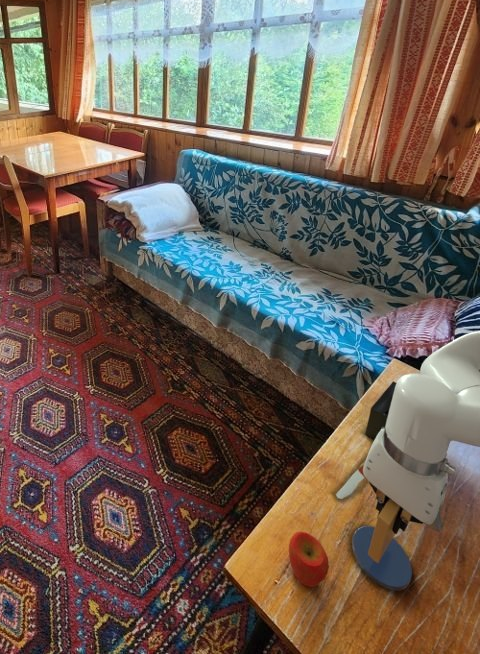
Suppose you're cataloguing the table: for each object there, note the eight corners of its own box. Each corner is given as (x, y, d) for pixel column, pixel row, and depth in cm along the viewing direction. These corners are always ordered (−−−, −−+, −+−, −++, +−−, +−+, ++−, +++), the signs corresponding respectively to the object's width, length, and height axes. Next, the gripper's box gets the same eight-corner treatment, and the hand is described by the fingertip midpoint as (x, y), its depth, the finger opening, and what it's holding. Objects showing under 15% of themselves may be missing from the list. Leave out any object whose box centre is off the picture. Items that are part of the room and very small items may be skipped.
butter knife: (407, 434, 89) (393, 424, 91) (346, 505, 76) (332, 492, 79) (406, 435, 89) (392, 426, 92) (345, 507, 76) (331, 493, 79)
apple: (330, 575, 66) (336, 550, 64) (314, 606, 63) (319, 581, 60) (296, 543, 71) (300, 519, 68) (279, 570, 67) (283, 545, 65)
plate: (402, 540, 70) (403, 536, 70) (418, 601, 62) (419, 597, 62) (348, 522, 74) (349, 518, 73) (356, 577, 66) (357, 573, 65)
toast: (390, 516, 69) (401, 478, 66) (400, 524, 68) (412, 486, 64) (367, 554, 64) (378, 516, 61) (377, 563, 63) (389, 525, 59)
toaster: (386, 407, 96) (393, 381, 93) (423, 429, 90) (431, 402, 87) (363, 437, 90) (369, 409, 86) (401, 463, 83) (409, 435, 80)
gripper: (485, 473, 54) (454, 549, 60) (368, 401, 66) (352, 470, 72) (469, 508, 50) (438, 585, 56) (347, 424, 62) (333, 496, 68)
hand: (390, 520), depth 64 cm, fingers closed on toast, 1 cm apart
